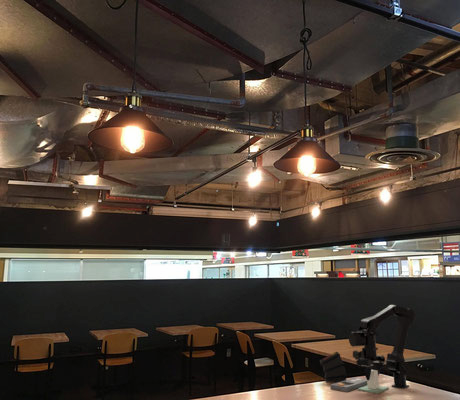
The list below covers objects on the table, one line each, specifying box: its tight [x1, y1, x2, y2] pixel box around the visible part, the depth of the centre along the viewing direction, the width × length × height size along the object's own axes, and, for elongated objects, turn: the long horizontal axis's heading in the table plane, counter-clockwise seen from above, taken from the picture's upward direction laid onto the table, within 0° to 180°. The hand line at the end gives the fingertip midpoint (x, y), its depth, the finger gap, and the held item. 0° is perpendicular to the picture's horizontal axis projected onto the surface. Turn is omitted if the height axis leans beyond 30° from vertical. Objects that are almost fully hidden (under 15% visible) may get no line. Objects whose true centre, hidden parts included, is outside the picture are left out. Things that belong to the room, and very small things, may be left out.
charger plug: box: [366, 369, 380, 389], centre depth 209 cm, size 4×4×8 cm
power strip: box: [330, 377, 367, 393], centre depth 218 cm, size 28×9×3 cm, turn 135°
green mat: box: [357, 385, 389, 394], centre depth 208 cm, size 12×10×1 cm
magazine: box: [319, 351, 348, 383], centre depth 230 cm, size 4×13×15 cm, turn 88°
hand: (372, 378), depth 209 cm, fingers open, 9 cm apart
